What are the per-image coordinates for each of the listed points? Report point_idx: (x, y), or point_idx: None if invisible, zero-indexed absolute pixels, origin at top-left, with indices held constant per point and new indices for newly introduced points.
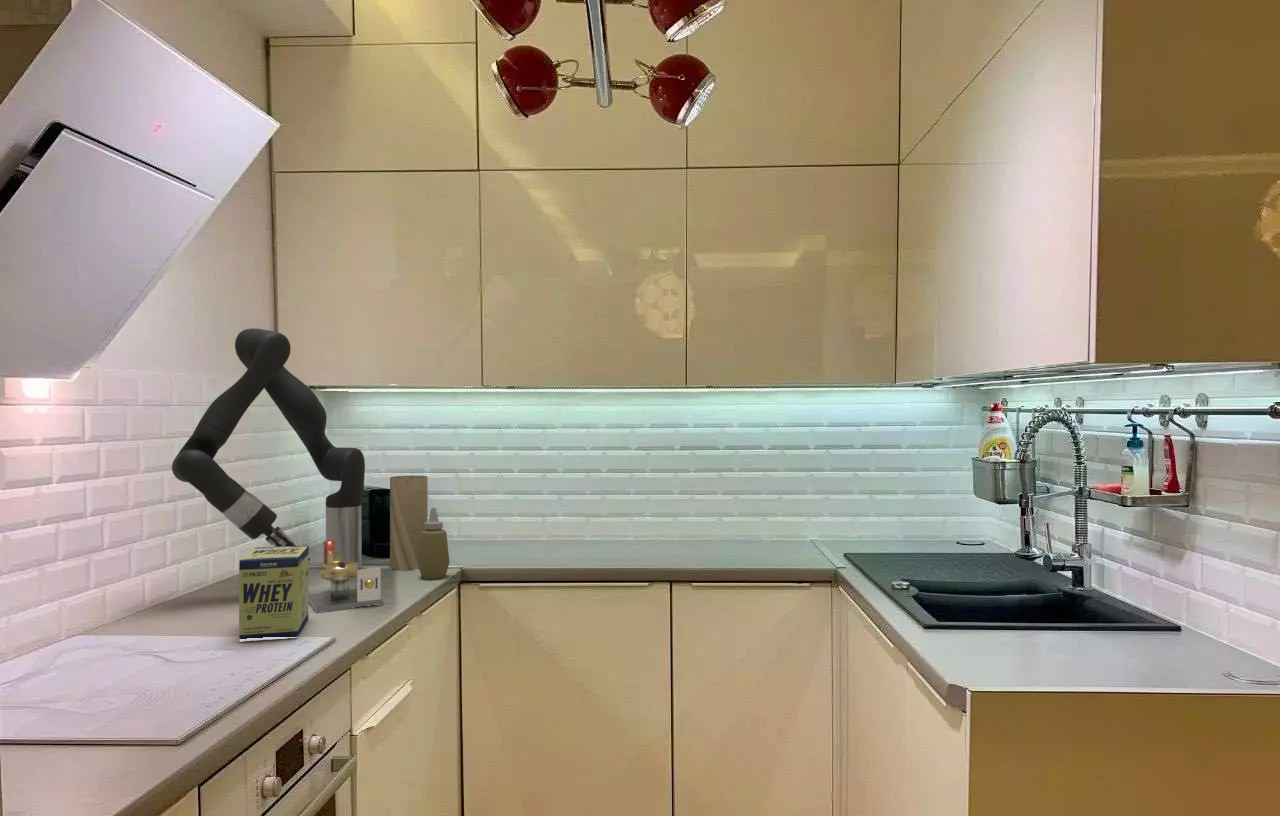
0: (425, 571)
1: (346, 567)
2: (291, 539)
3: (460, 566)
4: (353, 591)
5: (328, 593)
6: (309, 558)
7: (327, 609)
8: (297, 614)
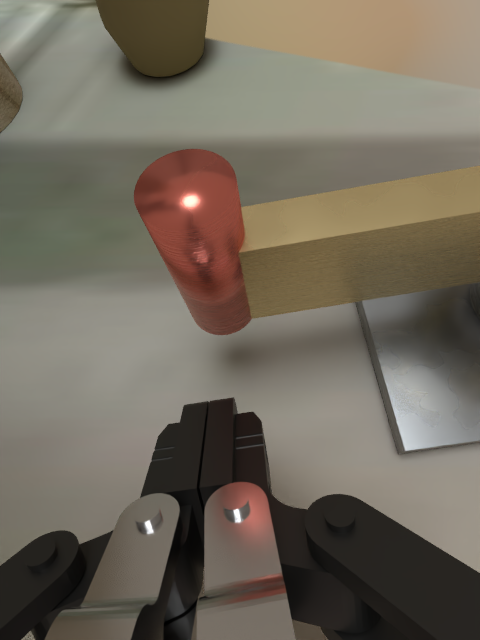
0: (192, 41)
1: None
2: (268, 608)
3: (51, 7)
4: None
5: (413, 346)
6: (231, 399)
7: None
8: None
